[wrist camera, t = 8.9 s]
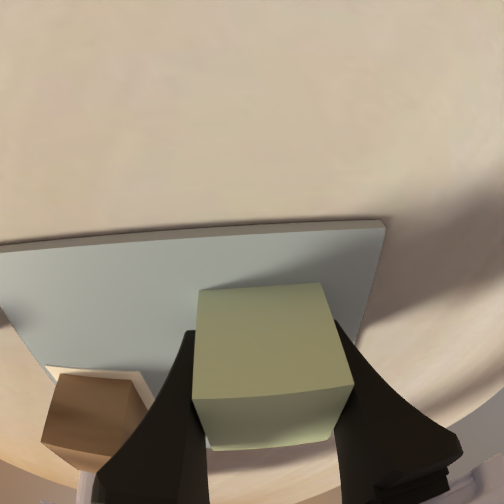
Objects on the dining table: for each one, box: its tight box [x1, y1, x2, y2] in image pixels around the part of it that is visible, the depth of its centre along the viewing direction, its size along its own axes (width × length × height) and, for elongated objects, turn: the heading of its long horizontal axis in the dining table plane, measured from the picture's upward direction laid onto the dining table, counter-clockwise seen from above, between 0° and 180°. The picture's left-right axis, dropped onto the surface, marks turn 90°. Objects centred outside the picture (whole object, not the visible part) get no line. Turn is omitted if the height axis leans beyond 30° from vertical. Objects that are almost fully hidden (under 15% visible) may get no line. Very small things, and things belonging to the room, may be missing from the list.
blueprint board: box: [0, 220, 386, 448], centre depth 16 cm, size 19×17×1 cm
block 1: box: [41, 373, 148, 473], centre depth 14 cm, size 4×4×4 cm
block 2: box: [192, 282, 354, 451], centre depth 11 cm, size 4×4×4 cm
